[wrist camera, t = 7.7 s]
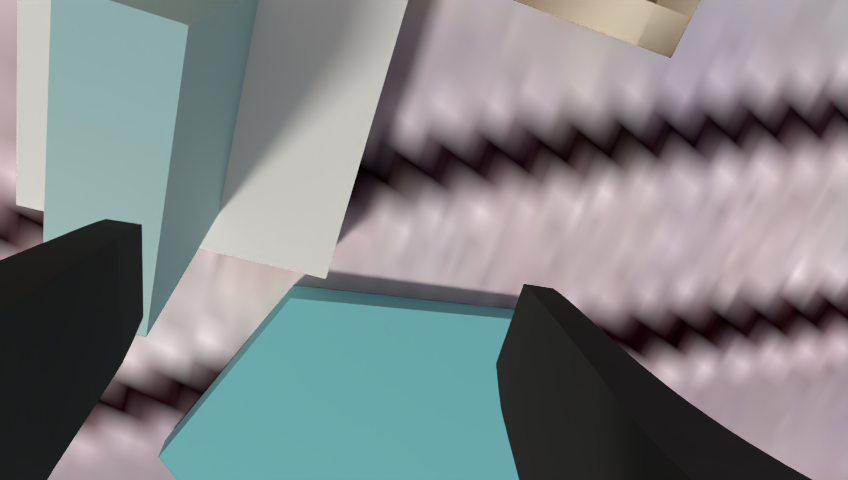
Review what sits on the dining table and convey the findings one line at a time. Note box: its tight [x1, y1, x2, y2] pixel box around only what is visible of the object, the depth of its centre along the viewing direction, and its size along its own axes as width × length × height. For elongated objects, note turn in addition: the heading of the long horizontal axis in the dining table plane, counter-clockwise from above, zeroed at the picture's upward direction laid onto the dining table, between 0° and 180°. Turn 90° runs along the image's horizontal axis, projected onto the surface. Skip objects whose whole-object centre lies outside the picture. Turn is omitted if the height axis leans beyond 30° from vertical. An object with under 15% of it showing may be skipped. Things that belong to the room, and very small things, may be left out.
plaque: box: [159, 285, 519, 480], centre depth 27 cm, size 17×2×20 cm
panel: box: [43, 0, 258, 337], centre depth 14 cm, size 2×7×6 cm, turn 161°
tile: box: [16, 0, 408, 279], centre depth 18 cm, size 10×10×2 cm
